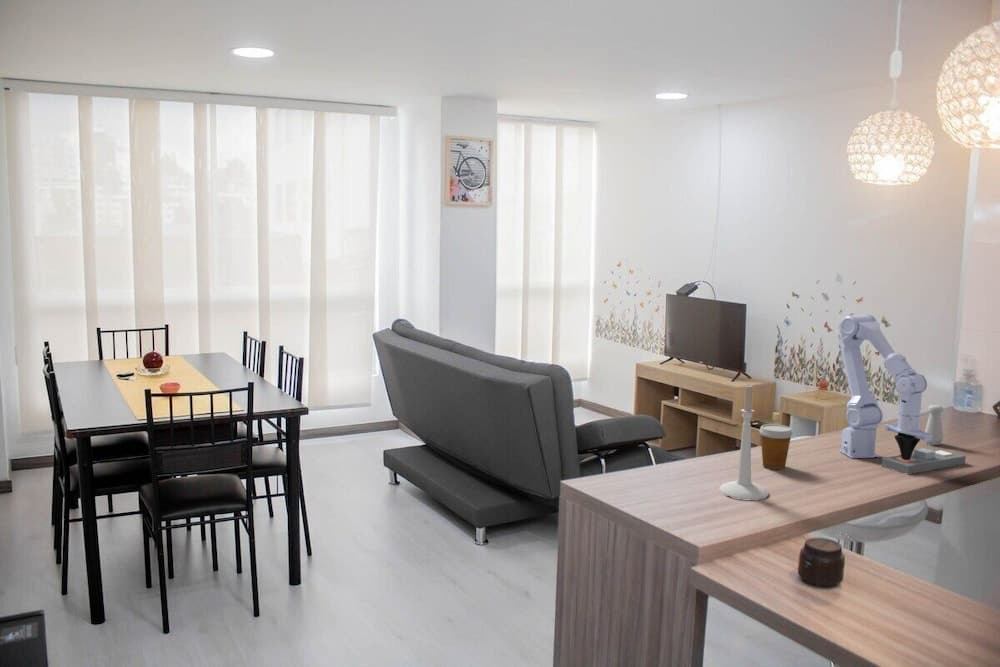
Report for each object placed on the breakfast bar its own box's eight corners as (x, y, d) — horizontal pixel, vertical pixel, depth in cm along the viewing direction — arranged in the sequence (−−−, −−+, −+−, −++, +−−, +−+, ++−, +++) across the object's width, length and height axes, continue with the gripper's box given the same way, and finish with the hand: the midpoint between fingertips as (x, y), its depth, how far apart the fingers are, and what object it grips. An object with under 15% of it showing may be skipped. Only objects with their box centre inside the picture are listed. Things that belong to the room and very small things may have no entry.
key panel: (907, 474, 242) (908, 466, 241) (881, 466, 250) (882, 458, 250) (965, 464, 252) (965, 456, 252) (938, 456, 260) (939, 448, 260)
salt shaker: (946, 446, 271) (949, 407, 270) (928, 446, 272) (931, 407, 270) (937, 441, 277) (940, 403, 275) (919, 441, 277) (922, 403, 275)
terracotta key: (906, 469, 245) (906, 461, 245) (894, 465, 249) (895, 458, 248) (915, 467, 247) (916, 459, 246) (904, 464, 250) (904, 456, 250)
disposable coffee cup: (779, 473, 242) (781, 433, 241) (750, 466, 250) (752, 427, 248) (797, 467, 248) (799, 428, 247) (768, 460, 256) (770, 422, 254)
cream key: (943, 462, 252) (943, 455, 251) (931, 459, 255) (932, 451, 255) (952, 461, 253) (952, 453, 253) (940, 457, 257) (940, 450, 257)
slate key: (925, 460, 248) (926, 453, 248) (913, 457, 252) (914, 449, 251) (934, 459, 250) (935, 451, 250) (922, 455, 253) (923, 448, 253)
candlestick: (778, 495, 223) (784, 386, 219) (744, 503, 217) (749, 391, 213) (743, 482, 234) (748, 377, 230) (709, 489, 228) (713, 382, 224)
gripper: (940, 418, 241) (936, 464, 243) (897, 408, 254) (894, 451, 256) (923, 421, 238) (920, 467, 240) (881, 410, 251) (878, 454, 253)
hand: (905, 459), depth 247 cm, fingers closed, pressing on terracotta key
